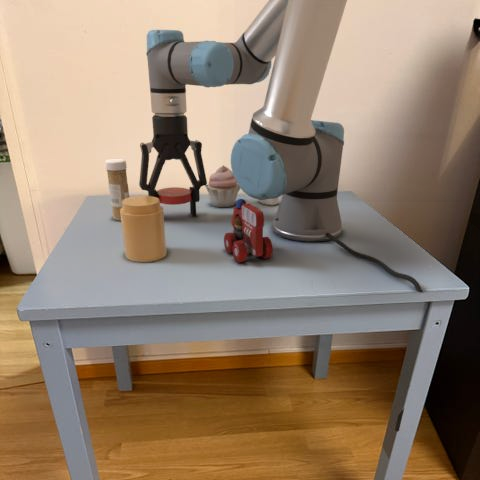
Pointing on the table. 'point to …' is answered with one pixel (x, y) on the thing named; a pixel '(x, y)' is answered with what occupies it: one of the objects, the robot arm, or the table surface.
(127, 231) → the jar
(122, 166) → the sprinkles bottle
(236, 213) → the toy fire truck
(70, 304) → the table surface
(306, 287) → the table surface
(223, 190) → the cupcake
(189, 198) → the lid
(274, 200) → the eye dropper bottle
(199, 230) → the table surface
